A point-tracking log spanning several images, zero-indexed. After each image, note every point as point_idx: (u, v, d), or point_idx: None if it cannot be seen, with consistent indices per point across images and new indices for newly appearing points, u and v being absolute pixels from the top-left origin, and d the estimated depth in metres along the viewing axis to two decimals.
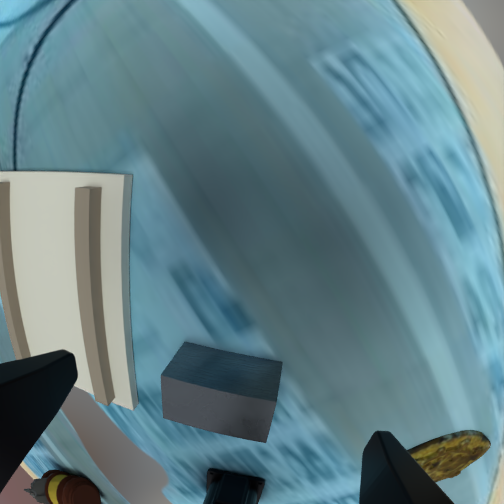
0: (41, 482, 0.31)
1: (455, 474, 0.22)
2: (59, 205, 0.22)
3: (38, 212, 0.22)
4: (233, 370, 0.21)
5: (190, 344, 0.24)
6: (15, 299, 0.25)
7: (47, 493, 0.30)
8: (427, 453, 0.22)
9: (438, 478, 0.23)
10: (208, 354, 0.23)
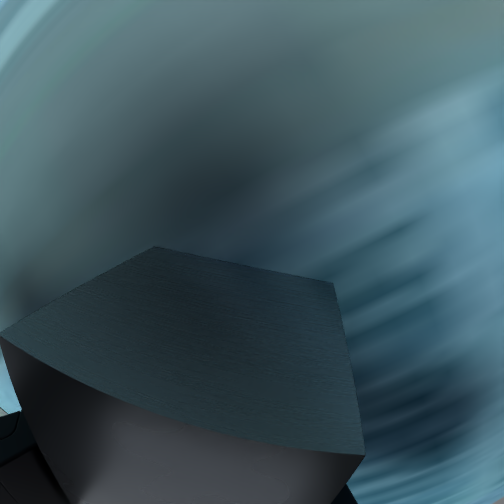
0: None
1: None
2: None
3: None
4: None
5: None
6: None
7: None
8: None
9: None
10: None
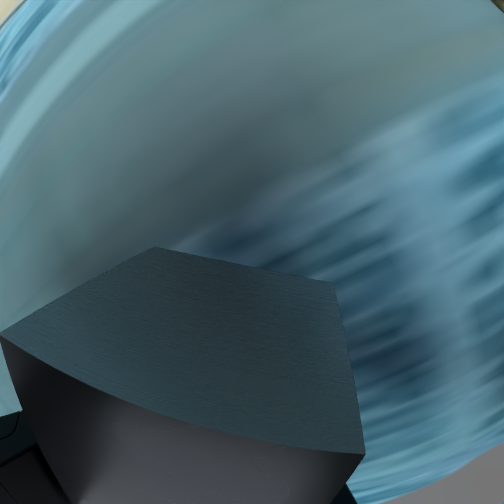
0: None
1: None
2: None
3: None
4: None
5: None
6: None
7: None
8: None
9: None
10: None
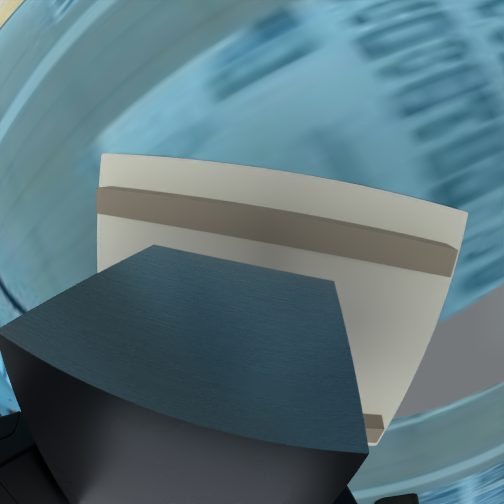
0: None
1: None
2: None
3: None
4: None
5: None
6: None
7: None
8: None
9: None
10: None
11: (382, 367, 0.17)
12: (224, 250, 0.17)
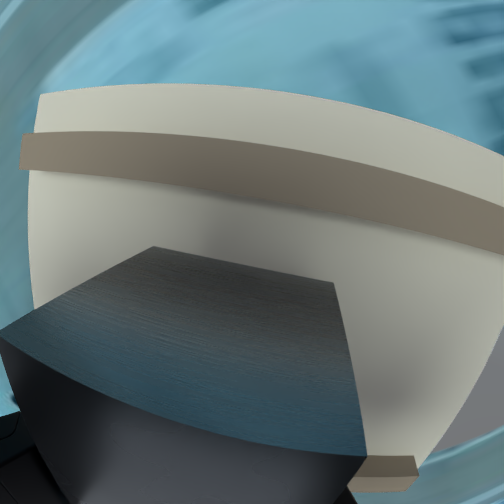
0: None
1: None
2: (65, 242, 0.12)
3: None
4: None
5: None
6: None
7: None
8: None
9: None
10: None
11: (425, 397, 0.11)
12: (192, 219, 0.11)
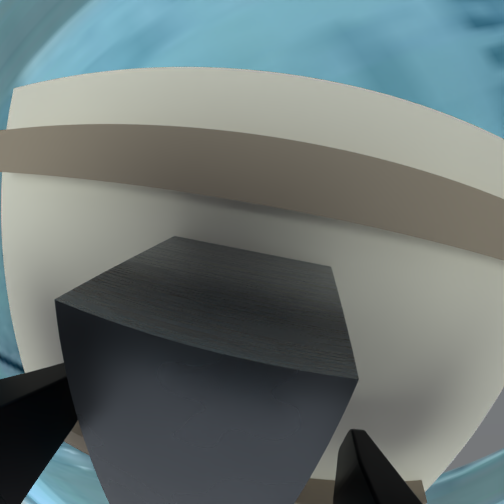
0: None
1: None
2: (37, 251, 0.10)
3: None
4: None
5: None
6: None
7: None
8: None
9: None
10: None
11: (438, 423, 0.09)
12: (173, 226, 0.09)
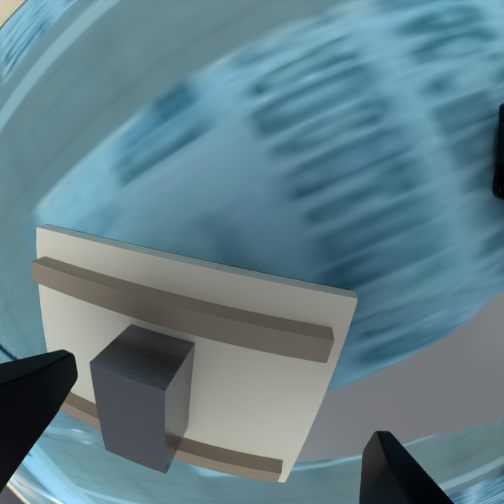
0: None
1: None
2: (65, 319, 0.20)
3: (76, 354, 0.20)
4: None
5: None
6: (183, 441, 0.20)
7: None
8: None
9: None
10: None
11: (274, 423, 0.19)
12: (129, 320, 0.19)
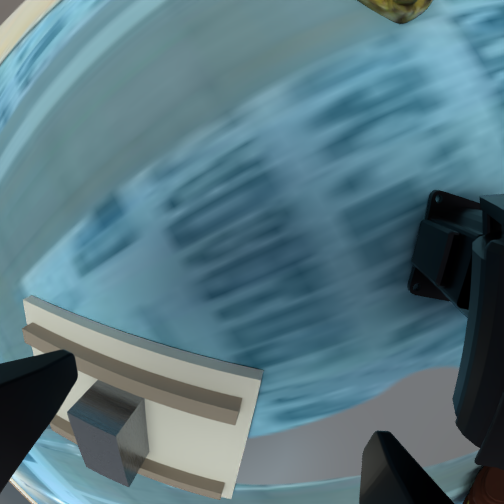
0: None
1: None
2: None
3: None
4: None
5: None
6: (147, 462, 0.24)
7: None
8: None
9: None
10: None
11: (212, 456, 0.23)
12: None
